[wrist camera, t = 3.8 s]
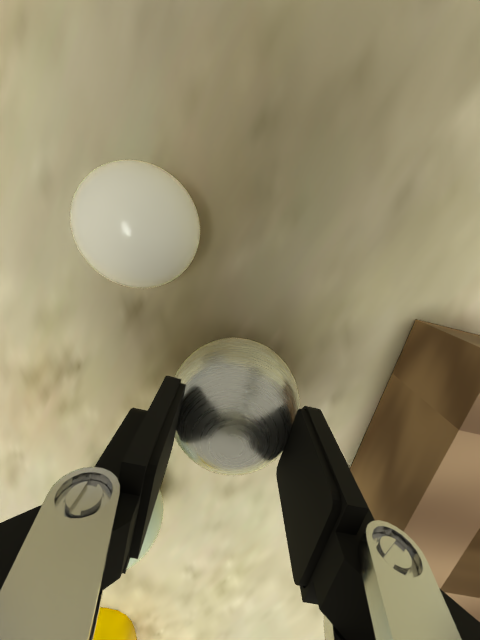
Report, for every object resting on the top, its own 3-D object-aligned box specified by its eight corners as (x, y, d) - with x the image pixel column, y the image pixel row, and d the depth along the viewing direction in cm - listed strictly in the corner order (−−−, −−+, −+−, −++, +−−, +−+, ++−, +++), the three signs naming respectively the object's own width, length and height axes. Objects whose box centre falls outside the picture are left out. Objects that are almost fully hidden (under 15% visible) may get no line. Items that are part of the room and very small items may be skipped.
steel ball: (193, 310, 13) (165, 355, 8) (300, 335, 14) (339, 394, 9) (173, 406, 15) (138, 495, 10) (270, 426, 15) (288, 523, 10)
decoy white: (112, 163, 12) (41, 118, 7) (215, 191, 12) (204, 164, 8) (100, 267, 13) (34, 280, 9) (194, 289, 13) (175, 313, 9)
